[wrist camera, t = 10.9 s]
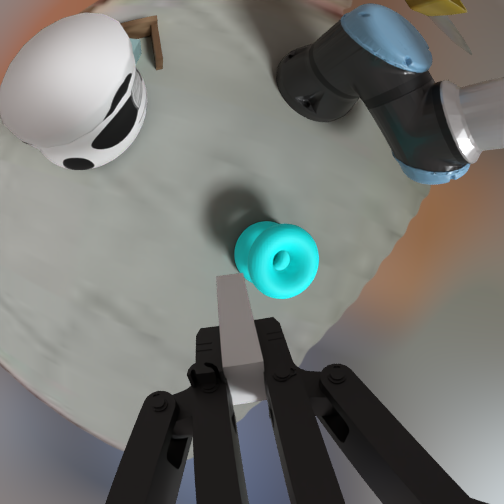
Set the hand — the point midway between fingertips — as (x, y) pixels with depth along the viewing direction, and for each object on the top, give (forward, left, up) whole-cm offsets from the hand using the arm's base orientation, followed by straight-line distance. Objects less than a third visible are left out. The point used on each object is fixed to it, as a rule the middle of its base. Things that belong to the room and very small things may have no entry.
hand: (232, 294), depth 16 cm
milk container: (+10, -23, -26) cm, 36 cm away
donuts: (-10, +5, -26) cm, 29 cm away
